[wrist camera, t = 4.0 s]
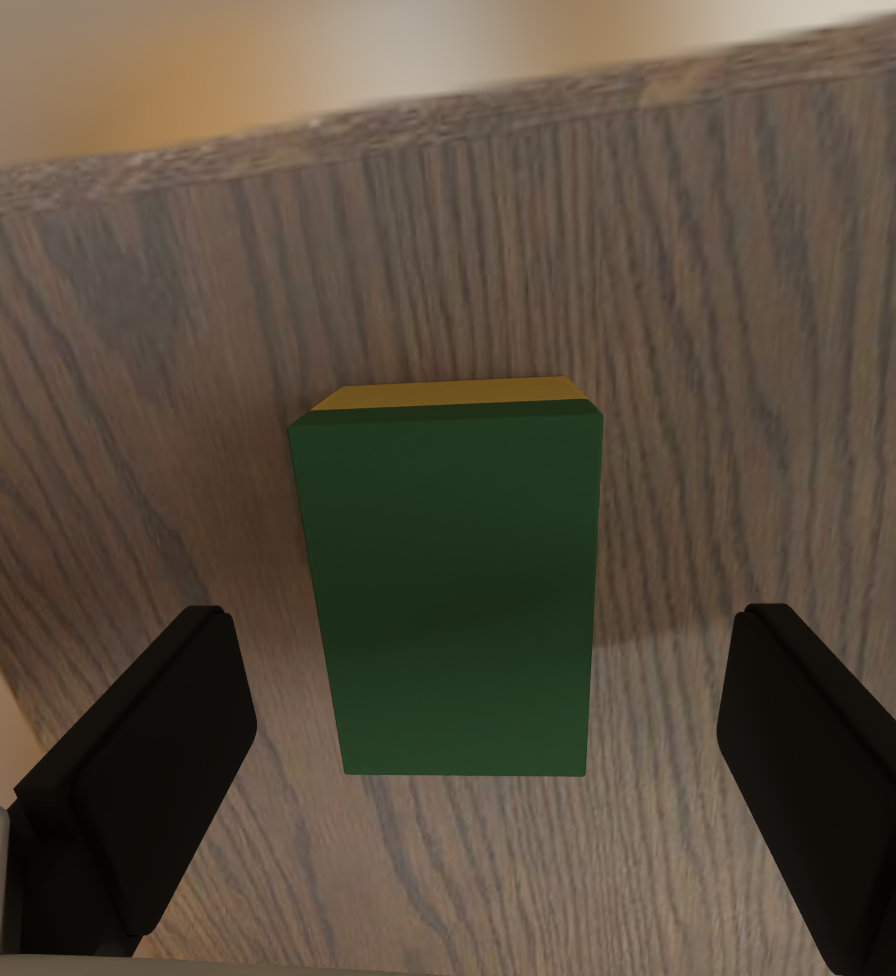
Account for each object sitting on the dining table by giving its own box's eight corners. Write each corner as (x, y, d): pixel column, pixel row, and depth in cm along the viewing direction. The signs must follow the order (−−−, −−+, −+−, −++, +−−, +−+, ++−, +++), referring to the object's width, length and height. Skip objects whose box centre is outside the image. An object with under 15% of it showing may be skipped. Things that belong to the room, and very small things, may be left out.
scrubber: (560, 656, 17) (586, 777, 13) (376, 658, 17) (343, 776, 13) (566, 375, 14) (604, 413, 10) (342, 385, 14) (284, 426, 10)
